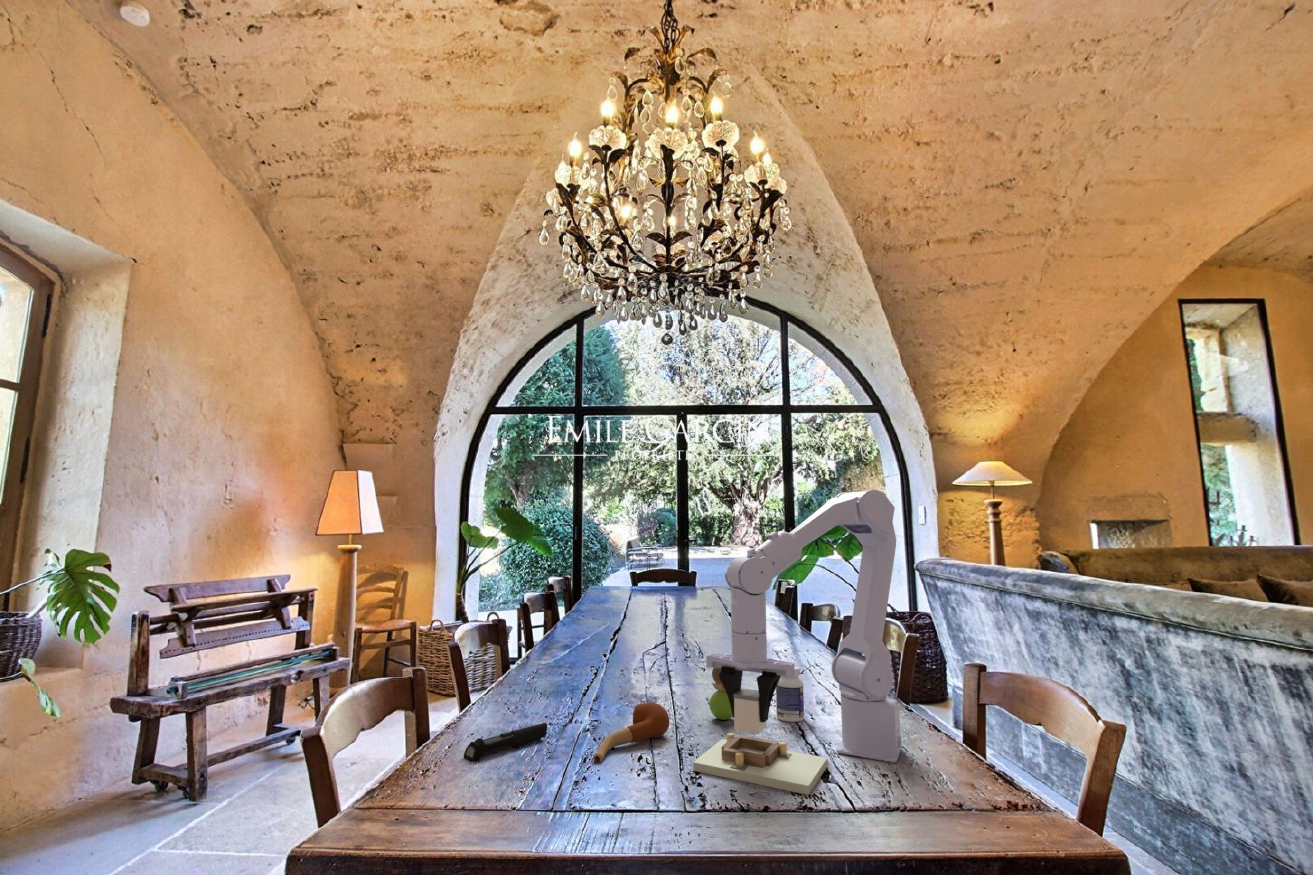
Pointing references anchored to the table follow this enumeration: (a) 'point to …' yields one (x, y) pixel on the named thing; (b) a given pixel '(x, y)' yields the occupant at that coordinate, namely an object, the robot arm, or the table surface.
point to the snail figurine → (719, 698)
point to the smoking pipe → (637, 728)
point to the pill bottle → (790, 698)
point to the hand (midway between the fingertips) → (750, 718)
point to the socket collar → (748, 757)
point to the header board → (766, 768)
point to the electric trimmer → (504, 742)
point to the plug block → (747, 711)
